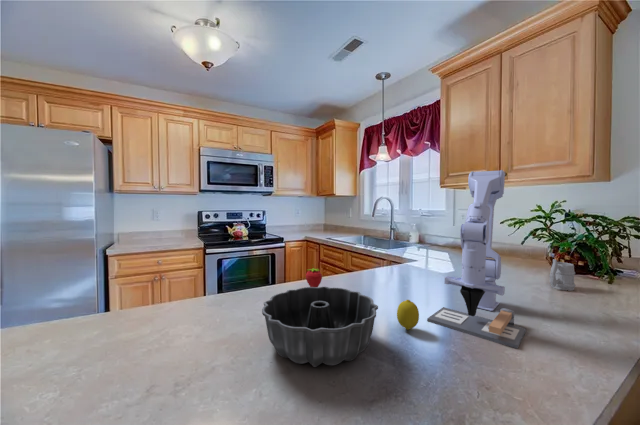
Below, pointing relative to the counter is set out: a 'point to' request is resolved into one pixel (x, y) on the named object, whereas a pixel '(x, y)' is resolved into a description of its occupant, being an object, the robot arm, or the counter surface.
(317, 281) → the strawberry
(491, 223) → the robot arm
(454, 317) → the panel
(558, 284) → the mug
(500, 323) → the bar
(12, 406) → the counter surface
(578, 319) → the counter surface
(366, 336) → the bundt pan
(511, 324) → the shiny grey curved piece
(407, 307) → the lemon
